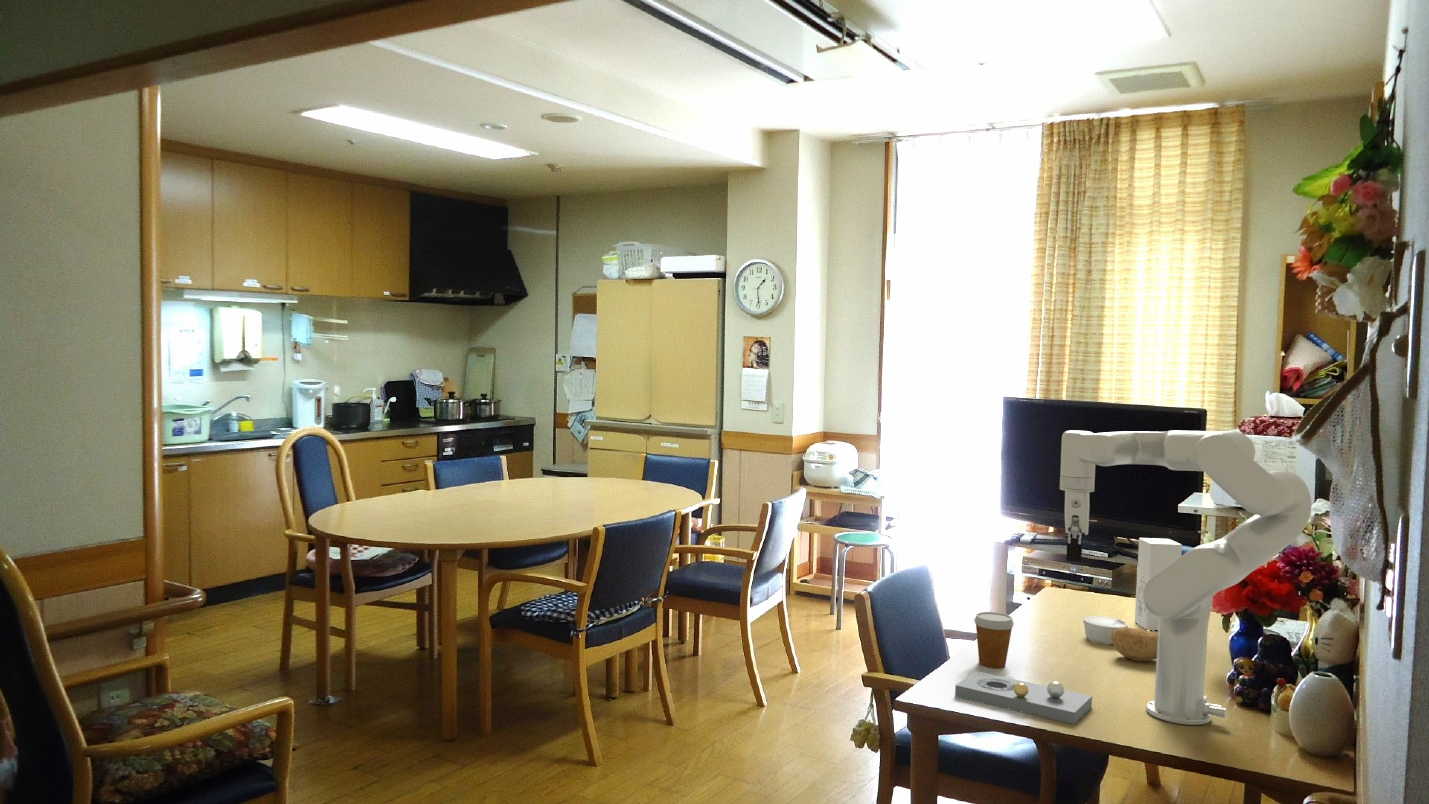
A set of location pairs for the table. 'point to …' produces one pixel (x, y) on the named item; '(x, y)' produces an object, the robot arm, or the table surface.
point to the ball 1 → (1021, 690)
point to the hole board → (1034, 702)
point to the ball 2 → (1055, 689)
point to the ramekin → (1101, 628)
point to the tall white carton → (1152, 573)
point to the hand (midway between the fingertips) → (1074, 557)
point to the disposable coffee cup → (993, 638)
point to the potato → (1135, 643)
